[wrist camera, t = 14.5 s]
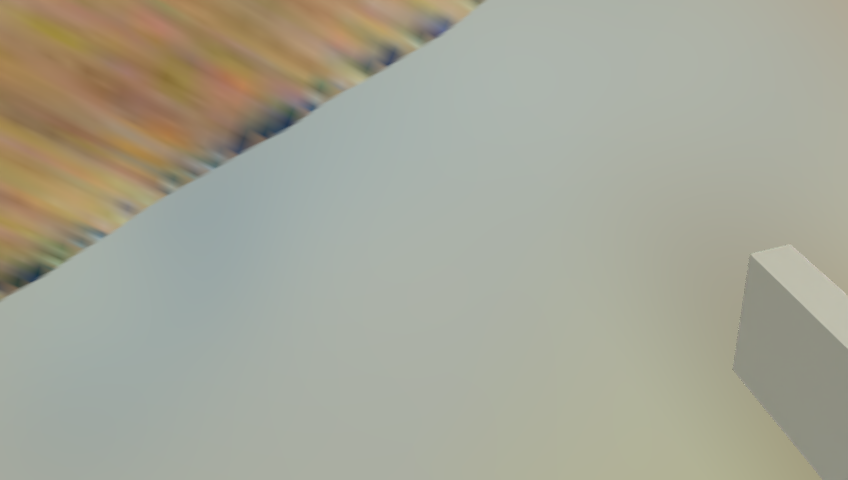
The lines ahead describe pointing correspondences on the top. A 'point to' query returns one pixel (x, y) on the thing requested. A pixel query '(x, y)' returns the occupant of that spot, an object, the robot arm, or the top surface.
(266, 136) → the top surface
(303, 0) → the top surface
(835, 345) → the robot arm
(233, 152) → the top surface
